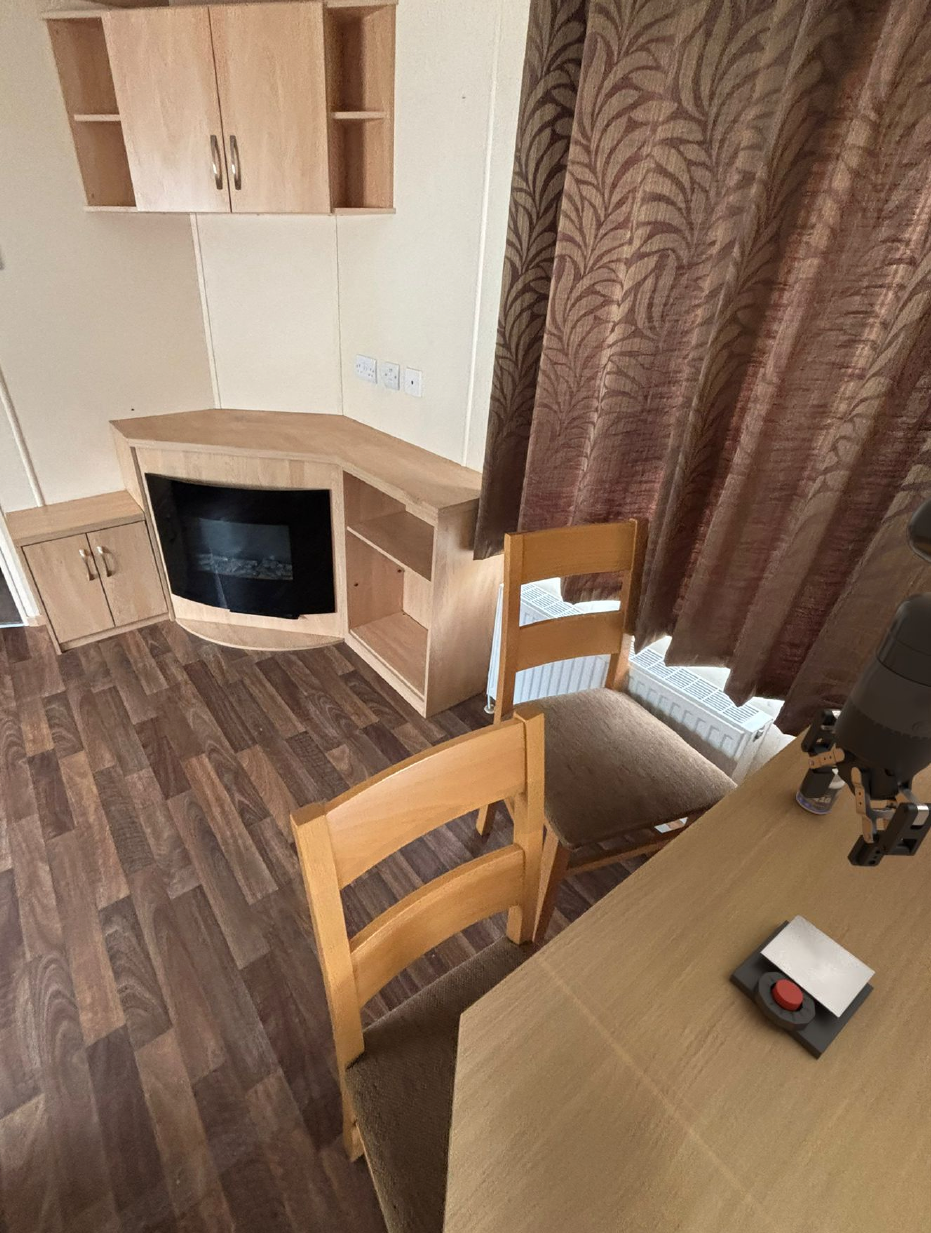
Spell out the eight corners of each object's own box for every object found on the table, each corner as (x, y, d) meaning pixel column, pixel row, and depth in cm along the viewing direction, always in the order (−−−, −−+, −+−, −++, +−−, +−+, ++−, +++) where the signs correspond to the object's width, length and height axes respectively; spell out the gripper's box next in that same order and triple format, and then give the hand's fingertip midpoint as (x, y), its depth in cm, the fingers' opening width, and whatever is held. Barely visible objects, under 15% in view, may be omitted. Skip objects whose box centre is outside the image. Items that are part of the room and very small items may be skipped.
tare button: (779, 981, 70) (784, 974, 69) (803, 1001, 68) (807, 994, 67) (767, 995, 68) (771, 988, 68) (791, 1015, 66) (795, 1009, 66)
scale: (782, 926, 78) (790, 912, 76) (869, 994, 71) (879, 980, 69) (722, 986, 72) (729, 972, 70) (811, 1068, 65) (821, 1054, 63)
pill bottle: (791, 803, 95) (809, 764, 90) (800, 787, 98) (819, 748, 93) (825, 820, 92) (846, 781, 88) (834, 803, 95) (855, 764, 90)
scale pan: (797, 915, 76) (798, 913, 76) (874, 974, 70) (875, 972, 70) (759, 954, 72) (760, 952, 72) (837, 1019, 66) (838, 1017, 66)
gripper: (1010, 764, 48) (918, 890, 57) (891, 660, 61) (830, 777, 69) (913, 762, 49) (836, 888, 57) (814, 659, 61) (763, 775, 69)
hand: (833, 827), depth 63 cm, fingers open, 8 cm apart
